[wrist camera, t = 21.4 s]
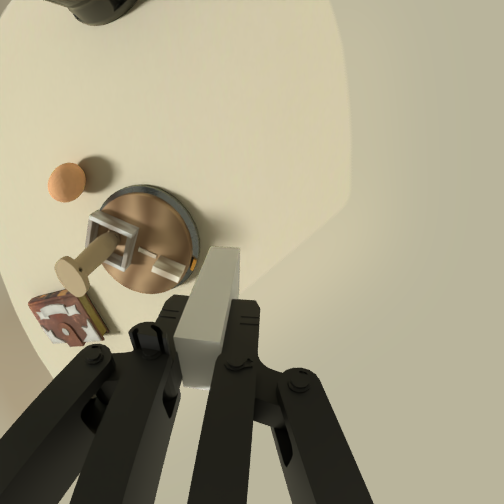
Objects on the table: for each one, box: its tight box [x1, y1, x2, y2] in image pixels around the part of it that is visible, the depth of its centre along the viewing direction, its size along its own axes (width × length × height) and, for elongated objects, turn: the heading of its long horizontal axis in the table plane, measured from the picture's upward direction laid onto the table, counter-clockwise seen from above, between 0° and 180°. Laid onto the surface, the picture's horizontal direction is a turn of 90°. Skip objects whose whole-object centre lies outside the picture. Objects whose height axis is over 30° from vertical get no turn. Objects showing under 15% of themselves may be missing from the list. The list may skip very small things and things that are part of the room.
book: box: [28, 289, 109, 347], centre depth 61 cm, size 23×16×5 cm
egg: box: [48, 163, 86, 202], centre depth 43 cm, size 7×7×8 cm
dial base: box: [100, 185, 200, 289], centre depth 51 cm, size 22×22×2 cm
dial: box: [85, 192, 193, 294], centre depth 48 cm, size 20×20×6 cm
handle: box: [55, 230, 120, 297], centre depth 42 cm, size 5×6×15 cm
